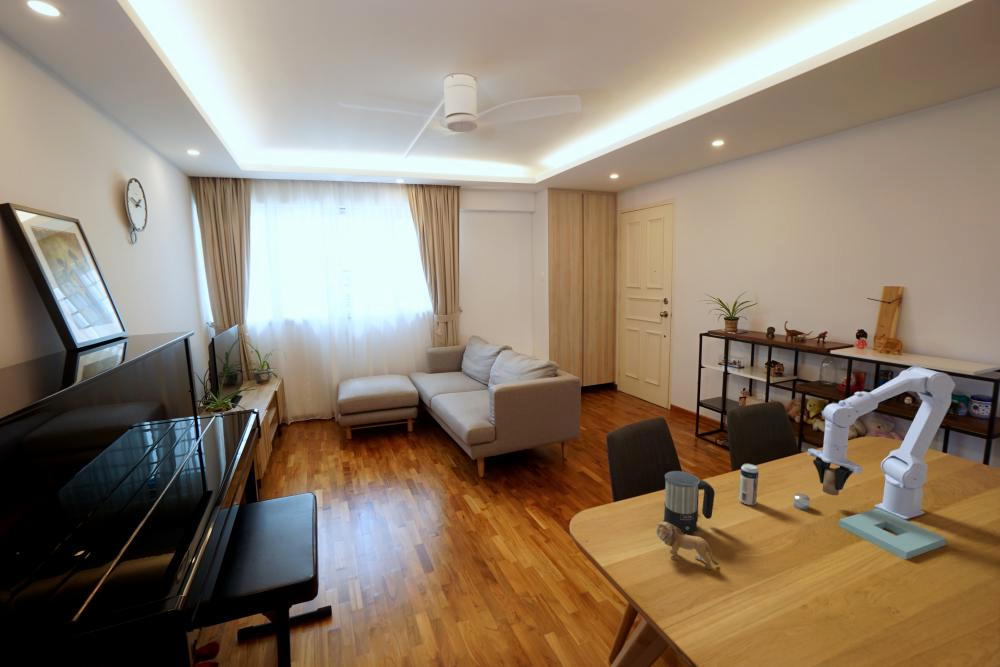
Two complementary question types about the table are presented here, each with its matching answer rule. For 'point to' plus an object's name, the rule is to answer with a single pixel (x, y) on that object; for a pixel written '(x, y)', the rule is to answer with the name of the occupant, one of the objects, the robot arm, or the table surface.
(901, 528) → the hole board
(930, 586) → the table surface
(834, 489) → the walnut pin
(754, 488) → the beer can
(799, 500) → the grey round piece
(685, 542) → the lion figurine
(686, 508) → the milk frother
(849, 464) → the robot arm
